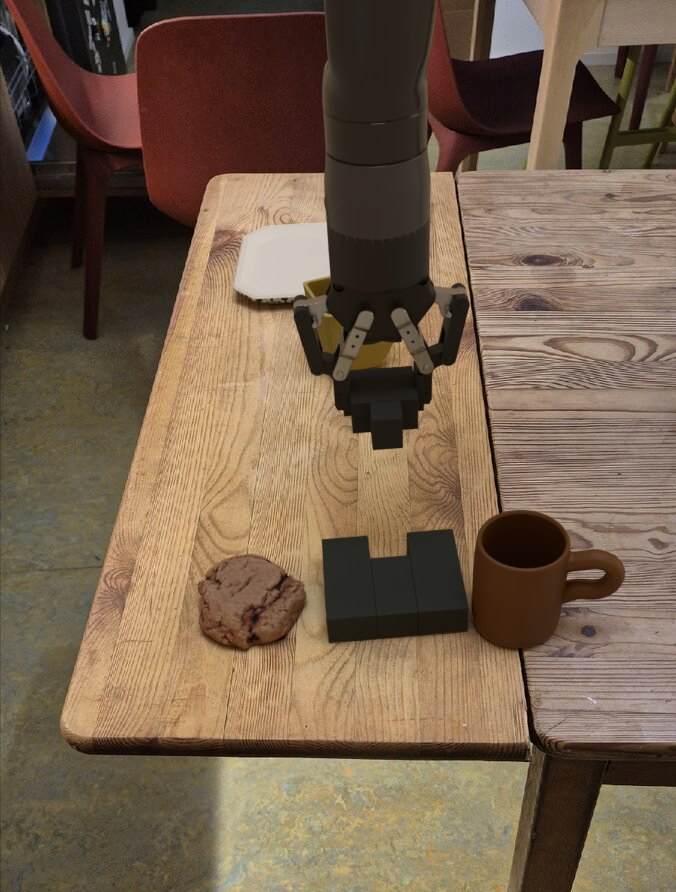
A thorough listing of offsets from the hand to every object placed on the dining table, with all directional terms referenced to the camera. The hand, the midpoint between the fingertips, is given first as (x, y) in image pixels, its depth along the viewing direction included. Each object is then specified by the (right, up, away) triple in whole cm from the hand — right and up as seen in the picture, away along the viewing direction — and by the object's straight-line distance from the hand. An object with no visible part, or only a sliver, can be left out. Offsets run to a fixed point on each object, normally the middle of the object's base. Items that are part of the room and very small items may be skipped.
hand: (383, 407), depth 79 cm
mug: (+14, -18, +1) cm, 23 cm away
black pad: (0, -1, 0) cm, 1 cm away
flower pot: (-2, +12, +31) cm, 34 cm away
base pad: (+1, -16, +4) cm, 17 cm away
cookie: (-12, -17, +5) cm, 21 cm away
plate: (-7, +28, +47) cm, 56 cm away
